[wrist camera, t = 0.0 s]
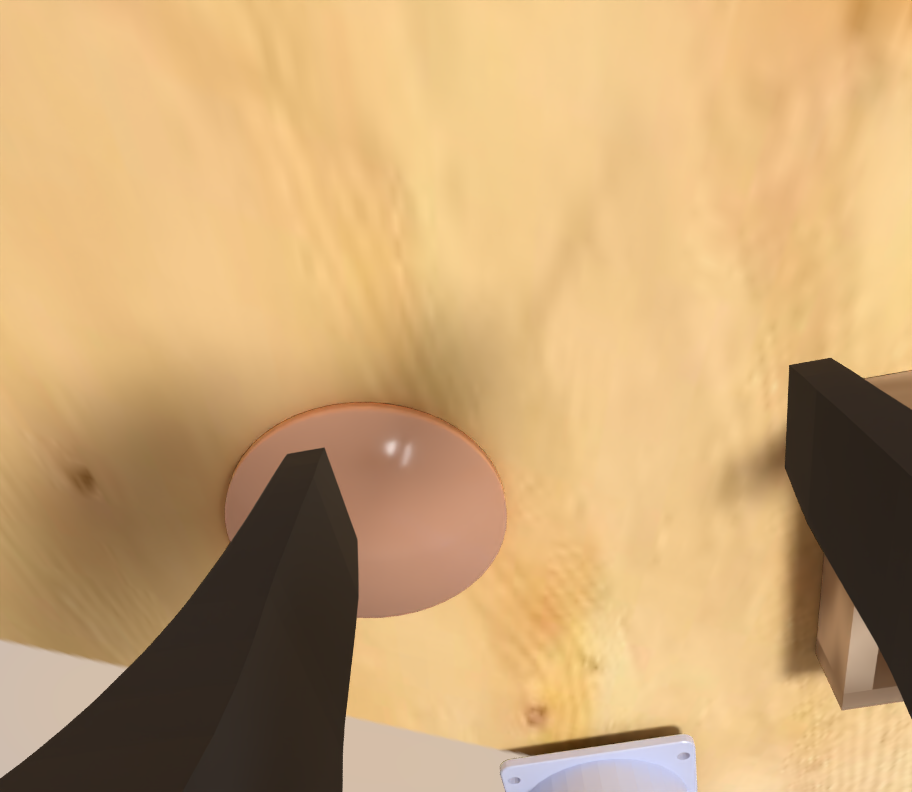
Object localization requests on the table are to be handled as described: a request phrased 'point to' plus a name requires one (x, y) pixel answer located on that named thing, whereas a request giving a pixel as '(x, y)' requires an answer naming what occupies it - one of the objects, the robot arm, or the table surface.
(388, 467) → the saucer
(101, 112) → the table surface
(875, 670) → the brown open rectangular frame
